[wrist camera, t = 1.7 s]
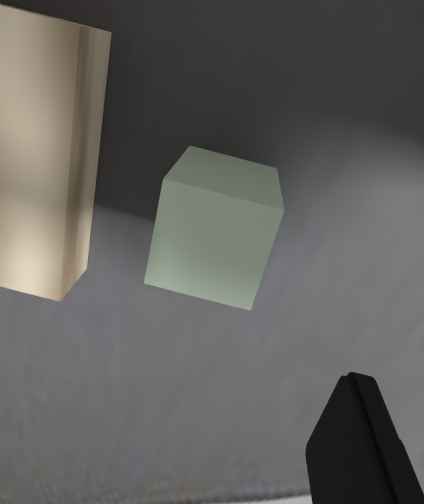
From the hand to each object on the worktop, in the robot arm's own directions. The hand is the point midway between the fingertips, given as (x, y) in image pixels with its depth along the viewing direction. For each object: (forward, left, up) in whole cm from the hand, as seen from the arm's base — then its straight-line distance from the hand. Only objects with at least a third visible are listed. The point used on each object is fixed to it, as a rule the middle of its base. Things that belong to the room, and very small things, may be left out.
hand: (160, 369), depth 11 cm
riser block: (+13, 0, -14) cm, 19 cm away
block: (0, 0, -14) cm, 14 cm away
